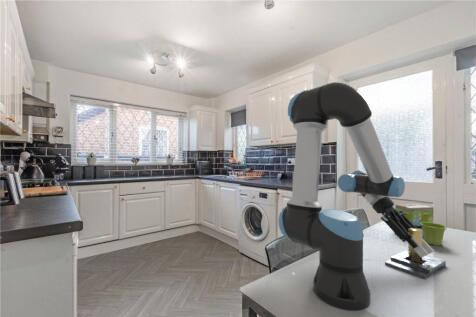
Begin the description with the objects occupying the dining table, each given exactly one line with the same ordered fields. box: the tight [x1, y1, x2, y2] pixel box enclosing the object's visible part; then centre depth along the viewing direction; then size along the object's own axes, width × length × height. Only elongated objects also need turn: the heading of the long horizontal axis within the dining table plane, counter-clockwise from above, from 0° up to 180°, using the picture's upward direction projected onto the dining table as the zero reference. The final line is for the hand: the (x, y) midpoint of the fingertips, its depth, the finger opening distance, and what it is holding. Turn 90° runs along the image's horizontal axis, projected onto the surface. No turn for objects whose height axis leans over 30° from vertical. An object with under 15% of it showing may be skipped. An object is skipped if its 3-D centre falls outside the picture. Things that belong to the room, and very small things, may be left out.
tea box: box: [395, 203, 435, 236], centre depth 122 cm, size 15×10×15 cm, turn 105°
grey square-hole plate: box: [384, 259, 442, 280], centre depth 82 cm, size 14×12×1 cm
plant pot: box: [420, 222, 447, 246], centre depth 106 cm, size 9×9×9 cm
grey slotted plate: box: [390, 249, 447, 273], centre depth 84 cm, size 14×12×2 cm
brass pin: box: [408, 228, 423, 262], centre depth 84 cm, size 4×4×11 cm
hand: (427, 254), depth 80 cm, fingers closed on brass pin, 4 cm apart
